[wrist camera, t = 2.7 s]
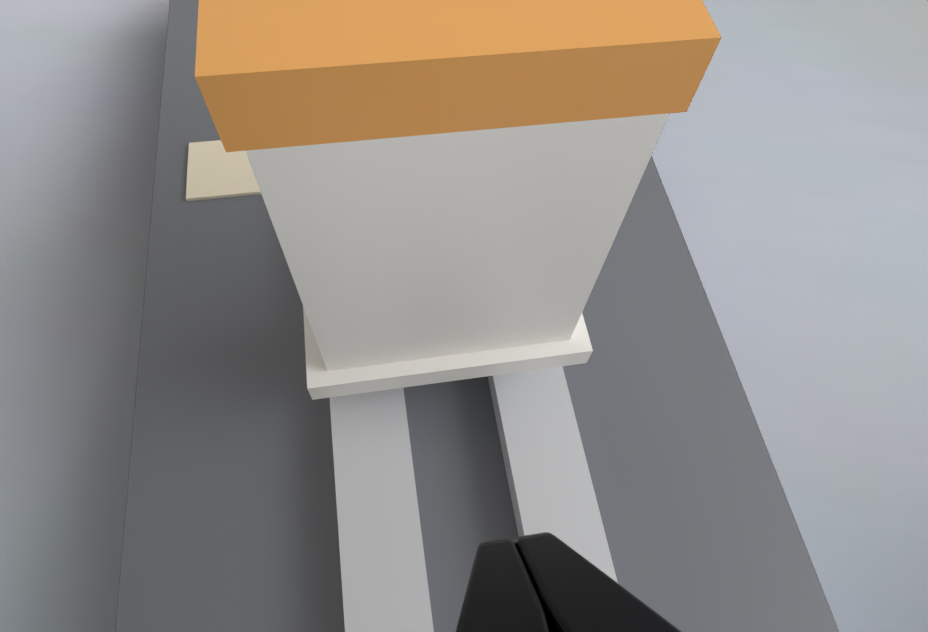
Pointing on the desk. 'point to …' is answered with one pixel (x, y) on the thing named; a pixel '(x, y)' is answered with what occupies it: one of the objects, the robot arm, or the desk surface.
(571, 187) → the fader lever
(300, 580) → the fader console
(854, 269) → the desk surface
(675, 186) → the desk surface
